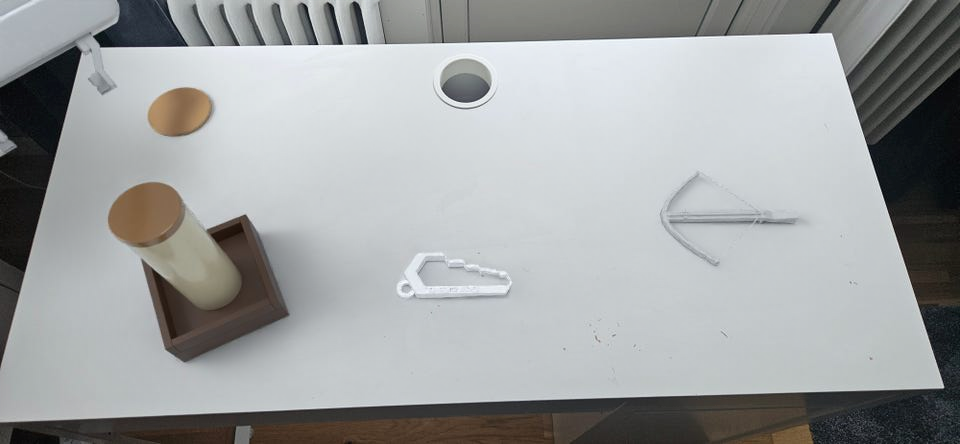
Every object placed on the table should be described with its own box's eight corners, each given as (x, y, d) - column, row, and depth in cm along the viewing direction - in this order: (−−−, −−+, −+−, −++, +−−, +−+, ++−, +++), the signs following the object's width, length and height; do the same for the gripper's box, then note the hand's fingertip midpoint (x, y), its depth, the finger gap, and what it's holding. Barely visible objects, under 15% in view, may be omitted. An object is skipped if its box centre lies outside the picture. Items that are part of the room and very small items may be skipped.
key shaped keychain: (510, 257, 69) (511, 251, 68) (512, 297, 67) (513, 291, 65) (398, 259, 69) (397, 252, 67) (396, 299, 66) (395, 293, 65)
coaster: (156, 144, 76) (155, 143, 76) (143, 101, 79) (141, 99, 79) (218, 122, 78) (217, 121, 78) (202, 81, 81) (201, 79, 81)
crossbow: (667, 268, 70) (671, 261, 68) (652, 178, 76) (656, 169, 74) (806, 266, 69) (813, 259, 67) (780, 176, 75) (786, 166, 73)
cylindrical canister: (194, 320, 62) (114, 253, 48) (180, 273, 65) (101, 197, 51) (250, 296, 64) (188, 224, 50) (234, 251, 66) (171, 171, 52)
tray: (184, 362, 63) (164, 349, 59) (158, 272, 67) (139, 255, 64) (289, 315, 65) (278, 300, 61) (258, 232, 70) (245, 213, 66)
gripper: (-246, 33, 40) (-70, 194, 46) (42, -98, 48) (164, 54, 53) (-204, 48, 45) (-51, 191, 51) (49, -72, 53) (159, 64, 58)
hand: (61, 120), depth 52 cm, fingers open, 8 cm apart
